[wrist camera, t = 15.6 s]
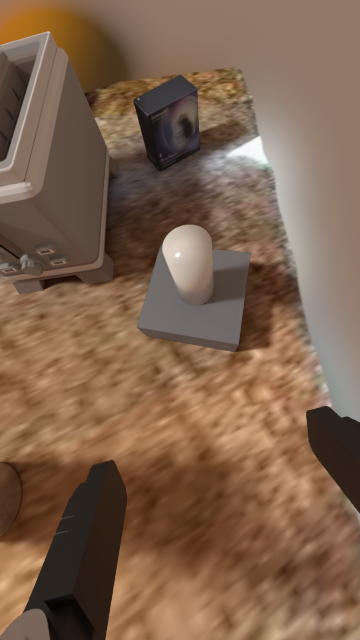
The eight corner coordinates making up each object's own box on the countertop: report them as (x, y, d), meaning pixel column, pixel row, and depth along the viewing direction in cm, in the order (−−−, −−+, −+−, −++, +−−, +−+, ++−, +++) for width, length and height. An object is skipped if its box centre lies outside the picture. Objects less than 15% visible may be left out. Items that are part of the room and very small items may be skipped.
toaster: (16, 308, 41) (-155, 233, 22) (42, 179, 53) (-55, 56, 34) (112, 296, 39) (15, 200, 20) (118, 163, 50) (60, 22, 31)
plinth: (147, 336, 35) (137, 327, 31) (166, 262, 39) (160, 244, 35) (234, 352, 32) (238, 344, 28) (246, 270, 36) (250, 252, 32)
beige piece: (176, 303, 31) (157, 265, 21) (182, 272, 32) (167, 224, 23) (211, 307, 30) (208, 268, 20) (215, 275, 31) (214, 225, 22)
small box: (160, 173, 47) (147, 115, 37) (147, 158, 49) (130, 99, 40) (201, 150, 48) (198, 86, 38) (186, 135, 50) (179, 72, 40)
